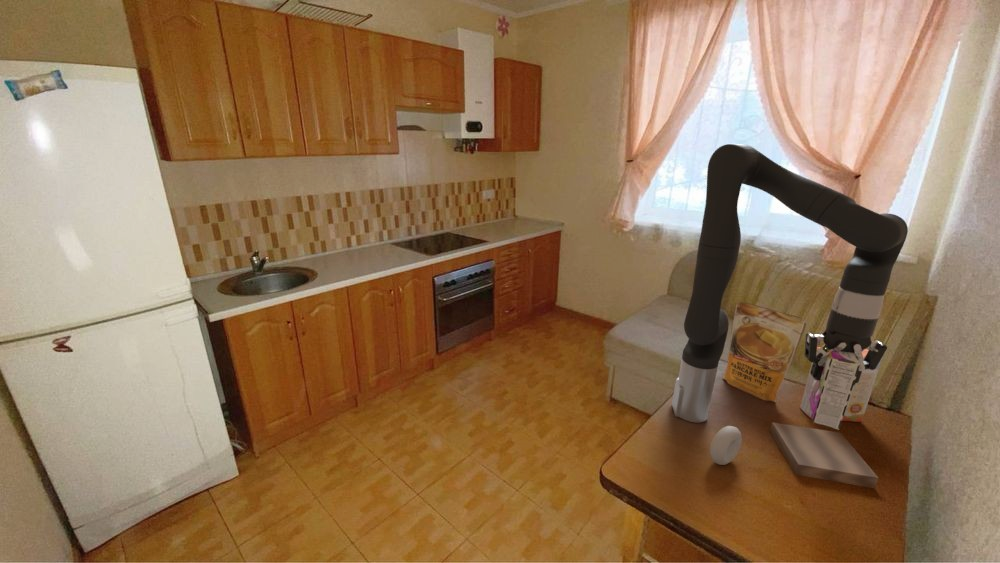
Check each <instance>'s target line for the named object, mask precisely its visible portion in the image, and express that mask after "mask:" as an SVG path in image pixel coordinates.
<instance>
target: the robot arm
mask: <svg viewBox="0 0 1000 563" xmlns="http://www.w3.org/2000/svg"><path fill="white" fill-rule="evenodd" d="M706 172H707V174H706V195H705V196H706V197H705V204H704V205H705V207H704V213H703V218H702V224H701V232H700V235H699V242H698V247H697V254H696V262H695V263H696V264H695V268H694V269H695V270H694V276H693V286H692V293H691V297H690V301H689V304H688V306H687V307H688V309H687V312H686V315H685V318H684V323H683V330H684V333H685V335H686V337H687V338H688V340H687V342H686V344H685V346H684V348H683V350H682V354H681V361H680V366H679V374H678V377H676V379H675V383H674V384H675V385H674V391H673V395H672V401H671V402H672V403H671V406H672V409H673V414H674V416H675V417H676V418H677V417H678V418H680V419H682V420H684V421H686V422H690V423H699V424H700V423H704V422H706V421H707V420H708V416H709V413H710V406H711V402H712V398H713V397H712V396H713V392H714V386H715V382H716V378H717V377H716V376H717V371H718V367H719V363H720V360H721V357H722V355H723V352H724V349H725V344H726V340H727V336H728V332H729V328H730V327H729V326H730V325H729V324H730V323H729V318H728V315H727V314H726V312H725V311H724V310H723V309H721V308H722V301H723V298H724V294H725V293H726V290H727V287H728V285H729V283H730V282H731V279H732V276H733V274H734V273H735V272H734V271H735V269H736V266H737V262H738V259H739V258H738V256H739V253H740V247H741V240H742V239H741V238H742V234H741V226H740V221H739V220H740V219H739V214H738V204H739V197H740V192H741V190H742V189H741V188H742V185H745V186H749V187H752V188H755V189H758V190H759V191H760V190H761V191H763V192H765V193H766V194H768V195H770V196H772V197H774V198H775V199H777V200H778V201H779V202H781V204H783V205H784V206H785V207H787V208H788V209H790V210H791V211H793V212H794V213H796V214H798V216H799V215H800V216H802V217H803V218H806V219H808V220H809V221H811V222H813V223H815V224H817V225H819V226H822V227H824V228H827V229H828V230H830V231H831V232H832V233H834V234H835V235H836V236H838V237H840V239H842V240H844V241H845V242H847V243H848V244H850V245H851V246H854V247H855V248H854V249H855V250H854V252H853V256H852V258H851V259H850V260H849V261H848V263H847V264H846V266H845V267H844V268H845V269H844V270H843V274H842V277H841V280H840V283H839V287H838V289H837V291H836V293H835V295H834V299H833V301H832V303H831V308H830V310H829V311H830V312H829V315H828V318H827V321H826V328H825V330H824V331H823V332H822V333H821V334H813V333H812V332H807V333H806V334H805V342H804V343H805V344H804V357H805V358H806V359H807V360H808V361H809V363H810V362H811V363H812V362H813V364H812V368H811V371H810V370H809V371H810V374H811V375H812V377H813V378H814V379H815V380H818V381H820V379H821V376H822V372H823V369H824V366H823V365H824V364H825V363H826V359H827V358H828V355H829V352H830V351H831V352H840V351H843V352H851V353H854V354H856V355H857V356H858V359H859V362H860V367H859V370H858V373H857V376H856V379H855V383H858V382H859V379H860V376H861V373H862V371H864V370H865V369H870V370H874V369H876V367H877V365H878V363H879V362H880V360H881V358H882V359H883V356H884V355H885V353H886V351H887V349H888V345H886V344H885V343H883V342H882V341H880V340H878V339H877V340H872V338H871V337H873V335H874V333H875V330H876V327H877V323H878V321H879V317H880V314H881V313H882V310H883V306H884V299H885V294H886V291H887V288H888V285H889V283H890V280H891V275H892V271H893V268H894V266H895V264H896V261H897V260H898V257H899V256H900V253H901V251H902V249H903V247H904V245H905V242H906V239H907V236H908V232H909V230H908V229H909V228H908V225H907V222H906V221H905V220H904V218H902V217H900V216H899V215H897V214H893V213H888V212H886V213H878V212H876V211H873V210H871V209H869V208H867V207H864V206H862V205H860V204H858V203H856V201H855V200H854V199H853V198H852V197H850V196H848V195H846V194H844V193H841V192H840V191H837V190H835V189H832V188H831V187H829V186H826V185H824V184H821V183H819V182H816V181H814V180H812V179H809V178H807V177H805V176H802V175H800V174H797V173H795V172H793V171H791V170H789V169H787V168H785V167H783V166H782V165H780V164H778V163H777V162H775V161H774V160H772V159H771V158H769V157H768V156H766V155H765V154H763V153H762V152H761V151H759V150H757V149H756V148H755V147H753V146H752V145H749V144H743V143H742V144H741V143H738V144H737V143H727V144H724V145H721V146H719V147H717V149H716V150H715V151H714V152H713V153H712V154H711V155H710V159H709V161H708V164H707V171H706ZM822 341H823V343H825V344H822V345H821V346H820V343H821V342H822ZM818 346H820V347H821V348H820V349H819V352H818V353H817V354H816V351H817V347H818ZM827 348H828V349H829V350H830V351H829V352H828V353H827ZM865 349H868V350H869V351H868V353H867V355H866V356H865V358H864V359H863V355H862V351H863V350H865ZM855 383H854V385H855Z"/></svg>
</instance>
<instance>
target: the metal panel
mask: <svg viewBox="0 0 1000 563" xmlns="http://www.w3.org/2000/svg"><path fill="white" fill-rule="evenodd" d="M769 430H770V431H769V432H770V434H771V436H772V438H773V439H774V441H775V443H776V444H777V446H778V447H779V449H780V451H781V452H782V454H783V456H784V458H785V459H786V461H787V462H788V464H789V466H790V467H791V469H792V471H793V472H794V474H795V475H796V476H802V477H808V478H813V479H818V480H819V479H820V480H826V481H831V482H836V483H843V484H849V485H853V486H859V487H865V488H871V489H875V488H876V487H877V484H878V480H879V479H880V478H879V477H878V475H876V473H875V472H874V470H873V469H872V468H871V467H870V466H869V465H868V463H867V462H866V461H865V459H863V457H862V456H861V455H860V454H859V453H858V452H857V451H856V449H855V448H854V447H853V445H851V443H850V442H849V441H848V440H847V439H846V438H845V437H844V435H843V434H842V433H841V432H838V431H831V430H826V429H819V428H812V427H806V426H799V425H791V424H787V423H786V424H785V423H780V422H773V421H772V422H771V426H770V429H769Z"/></svg>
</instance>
